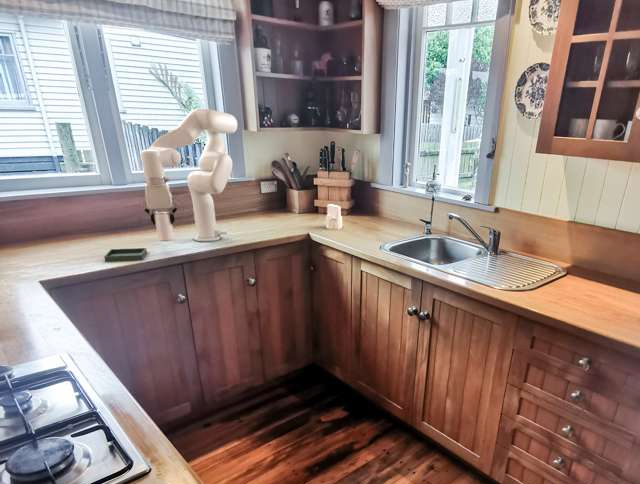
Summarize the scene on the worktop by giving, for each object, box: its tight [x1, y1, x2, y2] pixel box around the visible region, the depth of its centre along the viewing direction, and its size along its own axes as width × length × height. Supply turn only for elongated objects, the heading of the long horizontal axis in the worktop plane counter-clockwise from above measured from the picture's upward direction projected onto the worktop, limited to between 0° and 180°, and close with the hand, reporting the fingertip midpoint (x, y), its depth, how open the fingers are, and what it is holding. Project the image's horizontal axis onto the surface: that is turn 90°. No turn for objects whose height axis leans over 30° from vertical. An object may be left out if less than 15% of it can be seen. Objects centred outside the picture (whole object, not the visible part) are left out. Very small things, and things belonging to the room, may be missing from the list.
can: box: [154, 210, 175, 242], centre depth 203 cm, size 6×6×12 cm
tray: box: [104, 247, 148, 262], centre depth 197 cm, size 14×11×2 cm
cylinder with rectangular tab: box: [325, 203, 343, 230], centre depth 256 cm, size 9×9×12 cm
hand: (163, 223), depth 202 cm, fingers closed on can, 6 cm apart
